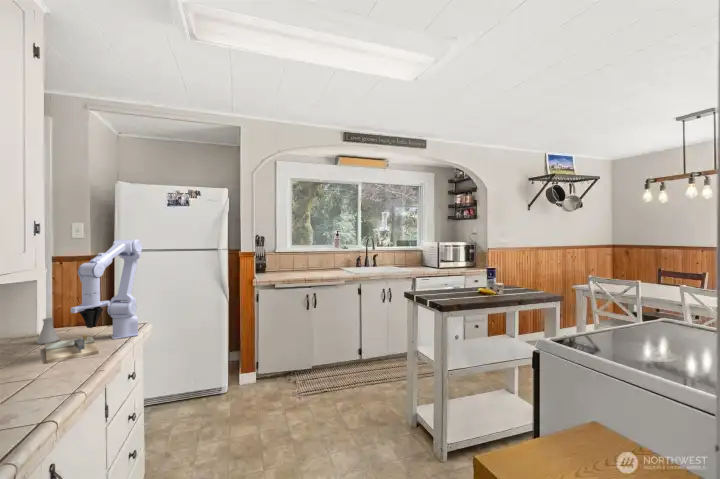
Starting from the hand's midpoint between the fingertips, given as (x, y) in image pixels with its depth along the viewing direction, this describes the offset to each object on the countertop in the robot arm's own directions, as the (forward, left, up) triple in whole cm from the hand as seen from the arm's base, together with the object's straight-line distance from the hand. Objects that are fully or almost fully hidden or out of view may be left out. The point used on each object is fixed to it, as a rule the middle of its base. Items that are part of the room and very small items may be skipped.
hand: (91, 327), depth 139 cm
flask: (+12, -26, -10) cm, 30 cm away
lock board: (+6, -5, -9) cm, 12 cm away
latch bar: (+3, -1, -7) cm, 8 cm away
